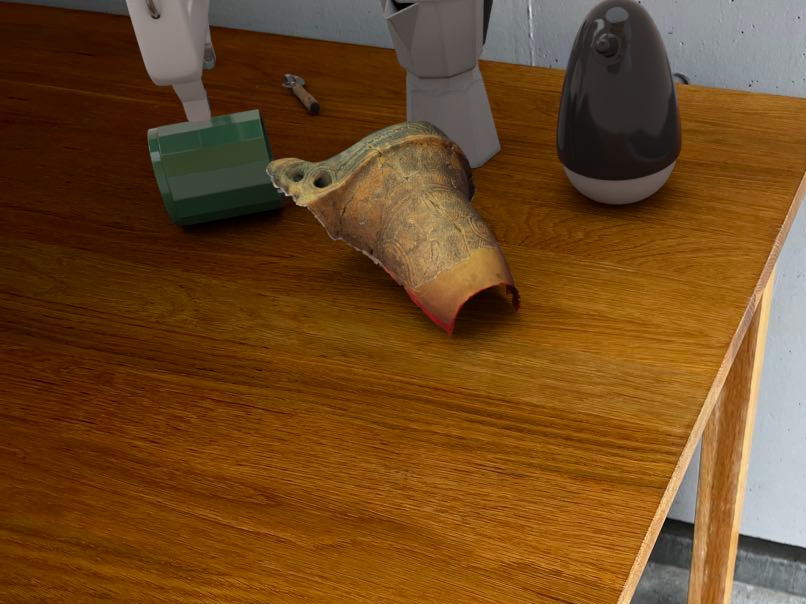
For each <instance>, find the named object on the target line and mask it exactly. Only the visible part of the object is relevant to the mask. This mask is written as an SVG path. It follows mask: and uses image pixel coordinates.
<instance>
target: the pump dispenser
mask: <svg viewBox="0 0 806 604" xmlns="http://www.w3.org/2000/svg"><path fill="white" fill-rule="evenodd" d="M662 37H663V36H662V35H661V32H660V30H659V28H658V26H657V24H656V23H655V21H654V19H653V18H652V16H651V14H650V13H649V12H648V10H647V9H646V8H645V7H644V6H643V5H642V4H641V3H640V2H638V1H636V0H602V1H599V2H598V3H597V4H595V5H594V6H593V7H592V8H590V10H589V12H588V13H587V14H586V16H585V17H584V18H583V21H582V23H581V25H579V28H578V30H577V33H576V35H575V38H574V40H573V42H572V46H571V49H570V52H569V56H568V60H567V64H566V68H565V71H564V76H563V81H562V86H561V90H560V91H561V92H560V96H559V97H560V98H559V103H558V112H557V120H556V121H557V123H556V133H555V134H556V135H555V147H556V148H555V149H556V155H557V158H558V160H559V162H560V163H561V165H562V168H563V170H564V173H565V175H566V177H567V178H568V180H569V182H570V184H572V185H573V187H574V189H576V190H577V191H578V192H579V193H581V194H582V195H583V196H585V197H586V198H589V199H590V200H593V201H595V202H598V203H602V204H607V205H626V204H627V205H628V204H632V203H636V202H639V201H642V200H644V199H647V198H649V197H651V196H652V195H654V194H655V193H657V192H658V191H659V190H660V189H661V188H662V187H663V186H664V185H665V183H666V182H668V179H669V178H670V176H671V174H672V173H673V170H674V167H675V165H676V161H677V159H678V158H679V156H680V154H681V152H682V146H683V129H682V119H681V111H680V104H679V96H678V92H677V86H676V83H675V78H674V74H673V70H672V66H671V61H670V58H669V55H668V51H667V48H666V46H665V43H664V40H663V38H662Z"/></svg>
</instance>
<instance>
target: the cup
mask: <svg viewBox="0 0 806 604" xmlns="http://www.w3.org/2000/svg"><path fill="white" fill-rule="evenodd" d="M147 144H148V151H149V155H150V161H151V165H152V169H153V173H154V176H155V179H156V180H155V181H156V183H157V186H158V190H159V192H160V195H161V199H162V201H163V205H164V207H165V209H166V211H167V214H168V216H169V218H170V220H171V221H172V224H174V226H175V227H183V226H191V225H196V224H197V225H198V224H203V223H208V222H212V221H217V220H223V219H229V218H233V217H240V216H244V215H249V214H250V215H251V214H255V213H256V214H257V213H261V212H265V211H272V210H277V209H282V208H284V206H285V205H284V200H281V198H280V196H279V193H278V190H279V189H281V188H280V187H279V188H277V187H274V185H273V182H272V181H271V176H270V175H269V174H267V173H268V172H266V169H267V167H268V165H269V164H270V163H271V162H272V161H275V157H274V152H273V149H272V146H271V141H270V138H269V134H268V131H267V127H266V124H265V121H264V118H263V115H262V112H261V110H260V109H259V108H258V109H256V108H255V109H252V110H251V109H250V110H246V111H239V112H235V113H230V114H223V115H218V116H211V118H210V119H209V120H208V121H205V122H198V123H192V122H190V121H189V120H188V121H184V122H178V123H177V122H176V123H172V124H167V125H161V126H157V127H152V128H148V130H147Z"/></svg>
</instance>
